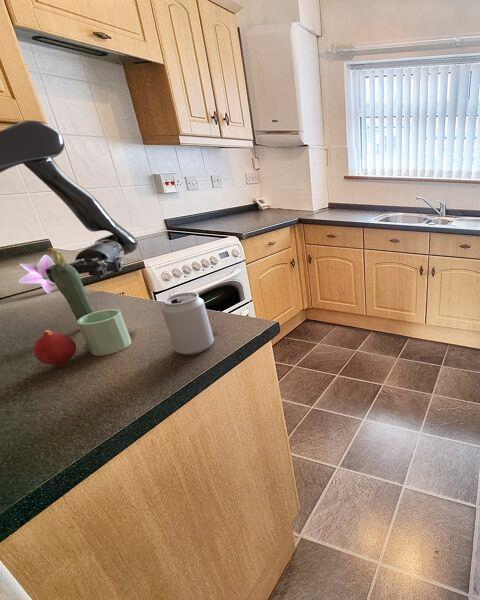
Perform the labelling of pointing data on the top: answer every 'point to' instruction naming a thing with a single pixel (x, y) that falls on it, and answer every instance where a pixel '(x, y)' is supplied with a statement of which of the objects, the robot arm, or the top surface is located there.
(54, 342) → the onion
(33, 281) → the lily
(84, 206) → the robot arm
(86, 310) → the vegetable
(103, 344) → the tube
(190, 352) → the can
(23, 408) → the top surface
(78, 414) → the top surface
